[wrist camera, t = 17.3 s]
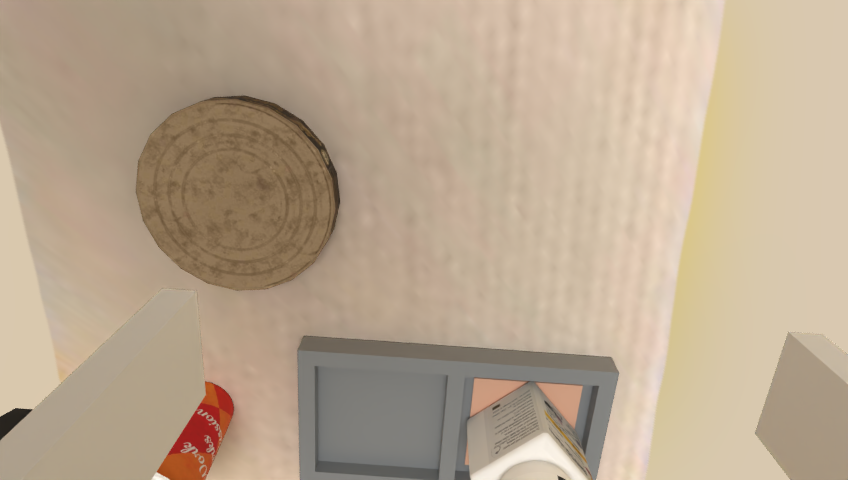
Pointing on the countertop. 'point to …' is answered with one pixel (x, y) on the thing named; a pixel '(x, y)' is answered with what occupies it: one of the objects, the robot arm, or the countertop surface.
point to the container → (524, 440)
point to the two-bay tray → (429, 404)
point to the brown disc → (238, 192)
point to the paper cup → (199, 438)
